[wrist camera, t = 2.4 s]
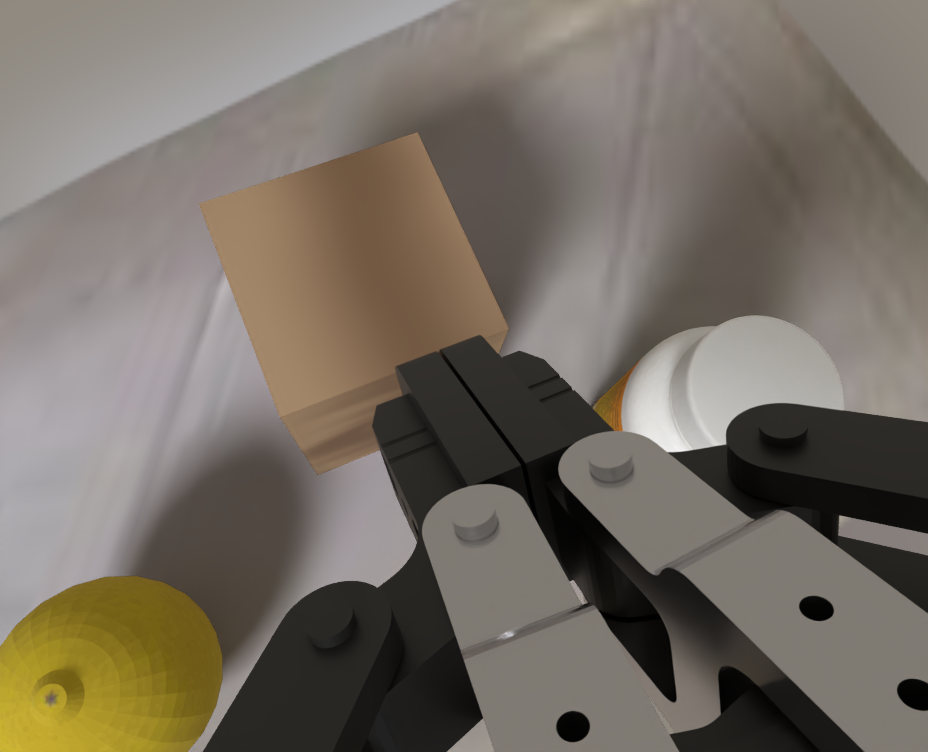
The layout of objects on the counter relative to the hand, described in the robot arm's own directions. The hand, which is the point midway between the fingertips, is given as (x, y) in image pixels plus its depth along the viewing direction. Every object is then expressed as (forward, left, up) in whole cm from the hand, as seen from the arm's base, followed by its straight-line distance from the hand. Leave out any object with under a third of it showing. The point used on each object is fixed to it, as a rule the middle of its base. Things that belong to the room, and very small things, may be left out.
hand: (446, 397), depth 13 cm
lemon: (-10, -2, -15) cm, 18 cm away
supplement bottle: (+8, -2, -15) cm, 17 cm away
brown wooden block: (0, +5, -15) cm, 16 cm away
